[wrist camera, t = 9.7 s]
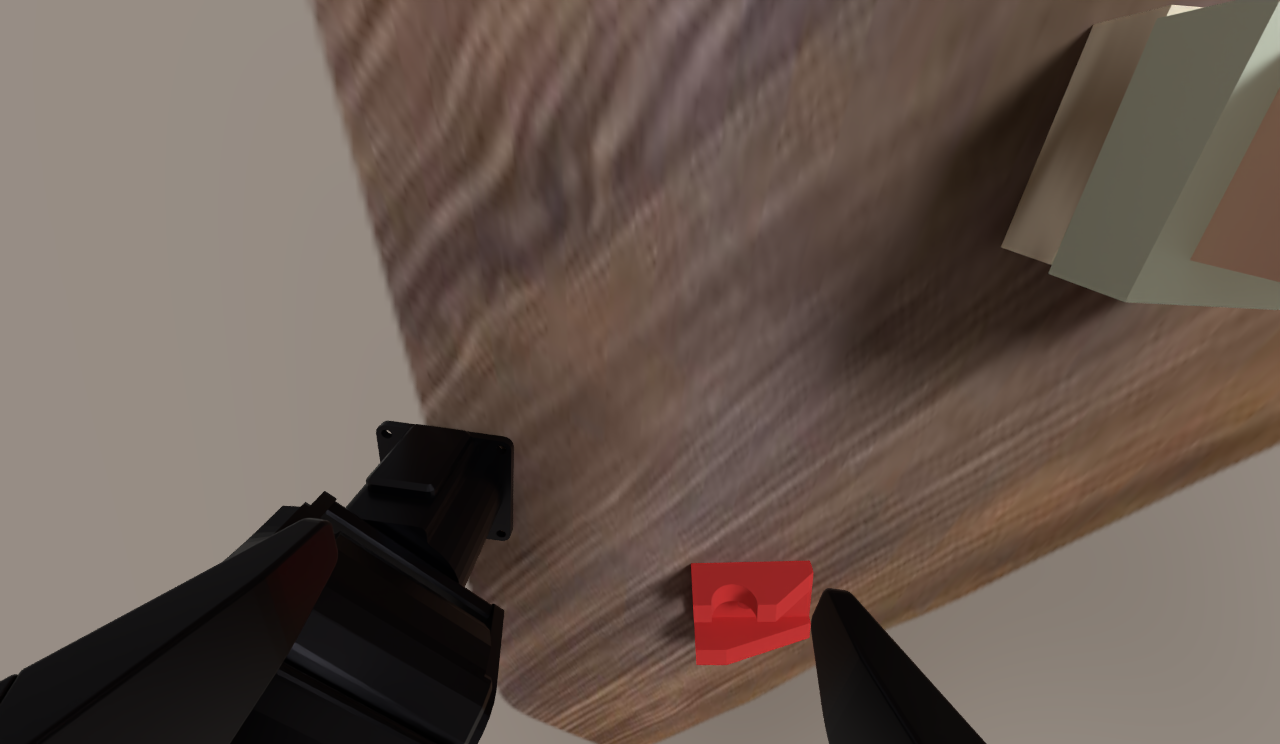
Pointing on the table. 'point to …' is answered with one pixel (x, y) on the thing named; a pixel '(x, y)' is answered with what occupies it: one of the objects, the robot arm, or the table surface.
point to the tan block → (1249, 209)
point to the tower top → (1177, 161)
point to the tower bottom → (1079, 132)
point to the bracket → (749, 608)
